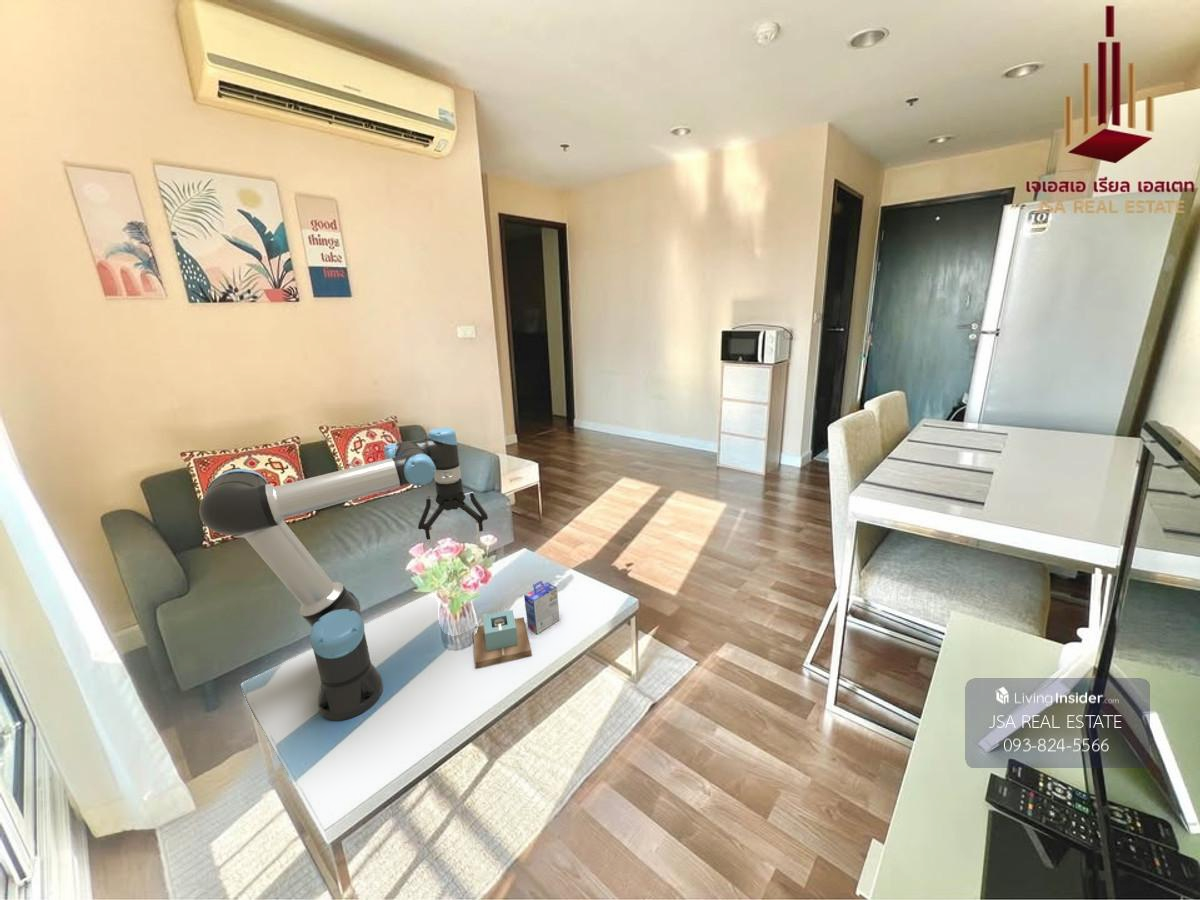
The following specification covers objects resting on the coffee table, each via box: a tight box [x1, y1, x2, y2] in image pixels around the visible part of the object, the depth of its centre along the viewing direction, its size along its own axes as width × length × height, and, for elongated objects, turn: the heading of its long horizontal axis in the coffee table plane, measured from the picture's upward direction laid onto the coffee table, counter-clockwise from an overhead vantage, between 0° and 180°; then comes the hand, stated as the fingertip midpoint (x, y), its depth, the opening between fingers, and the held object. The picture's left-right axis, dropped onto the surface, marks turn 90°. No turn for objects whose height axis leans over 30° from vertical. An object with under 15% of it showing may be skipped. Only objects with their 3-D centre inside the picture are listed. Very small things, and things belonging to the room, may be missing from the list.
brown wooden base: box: [473, 616, 533, 669], centre depth 140 cm, size 16×16×8 cm
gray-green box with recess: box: [482, 609, 518, 651], centre depth 140 cm, size 9×9×6 cm
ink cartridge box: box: [523, 580, 560, 635], centre depth 148 cm, size 10×6×14 cm, turn 137°
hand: (456, 544), depth 143 cm, fingers open, 13 cm apart
